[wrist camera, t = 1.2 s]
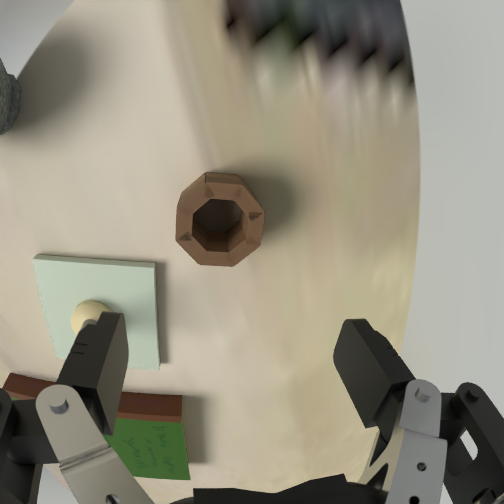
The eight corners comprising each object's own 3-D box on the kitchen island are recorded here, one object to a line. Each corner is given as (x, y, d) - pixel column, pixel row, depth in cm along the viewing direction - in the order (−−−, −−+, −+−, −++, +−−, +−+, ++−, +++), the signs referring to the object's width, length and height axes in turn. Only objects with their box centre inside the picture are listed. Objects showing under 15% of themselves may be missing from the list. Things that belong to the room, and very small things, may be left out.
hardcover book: (181, 392, 34) (181, 416, 30) (189, 461, 41) (190, 480, 38) (7, 369, 30) (-3, 387, 26) (51, 443, 37) (46, 459, 34)
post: (36, 254, 24) (-25, 321, 14) (155, 262, 26) (131, 347, 16) (59, 351, 29) (27, 426, 19) (160, 363, 31) (151, 450, 21)
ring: (183, 170, 23) (178, 180, 20) (259, 176, 24) (268, 187, 21) (179, 242, 26) (174, 263, 22) (250, 246, 27) (257, 267, 23)
